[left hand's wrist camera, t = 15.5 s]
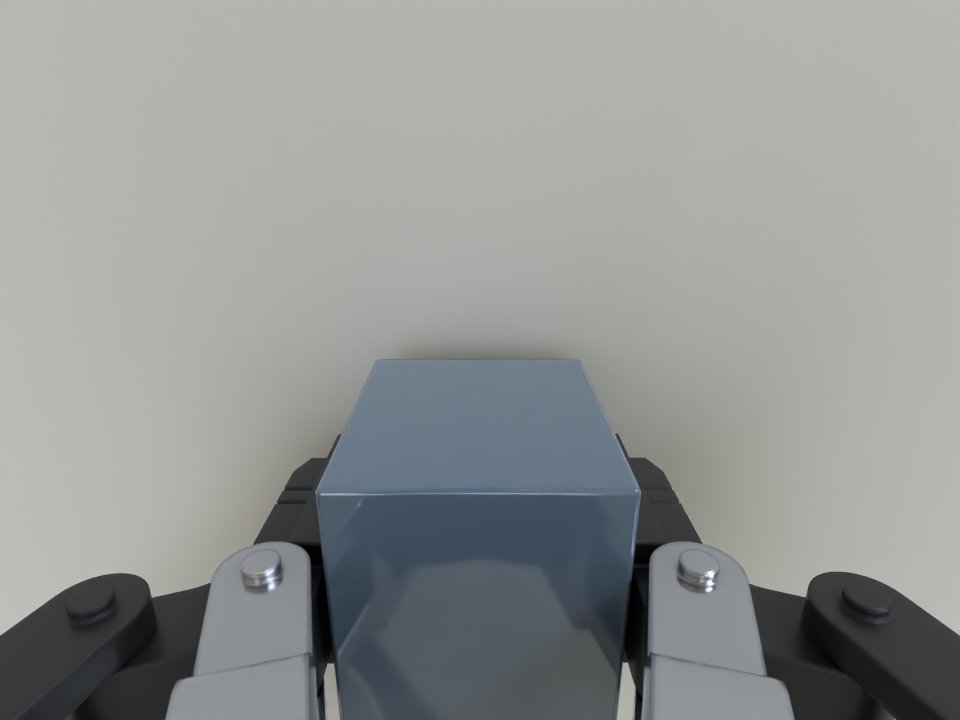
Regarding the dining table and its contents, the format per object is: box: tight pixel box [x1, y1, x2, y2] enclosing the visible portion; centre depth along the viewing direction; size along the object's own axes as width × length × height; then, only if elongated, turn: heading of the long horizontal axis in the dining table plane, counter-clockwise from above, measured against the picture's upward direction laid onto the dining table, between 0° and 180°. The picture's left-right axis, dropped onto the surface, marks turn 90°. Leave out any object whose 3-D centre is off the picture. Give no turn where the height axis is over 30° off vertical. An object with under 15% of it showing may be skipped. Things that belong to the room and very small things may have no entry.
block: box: [315, 359, 641, 720], centre depth 10 cm, size 5×4×5 cm
